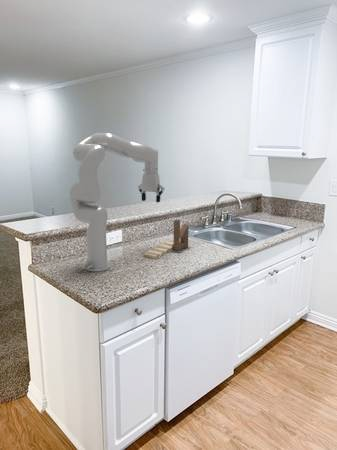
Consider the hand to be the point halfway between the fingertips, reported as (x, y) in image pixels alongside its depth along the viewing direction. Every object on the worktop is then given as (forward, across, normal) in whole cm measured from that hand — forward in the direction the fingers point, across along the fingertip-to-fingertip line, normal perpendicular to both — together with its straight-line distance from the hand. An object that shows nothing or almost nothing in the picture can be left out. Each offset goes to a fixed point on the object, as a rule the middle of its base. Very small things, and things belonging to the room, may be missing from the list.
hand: (150, 201), depth 198 cm
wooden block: (+28, +16, +8) cm, 33 cm away
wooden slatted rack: (+28, +9, 0) cm, 30 cm away
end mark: (+28, +16, +8) cm, 33 cm away
